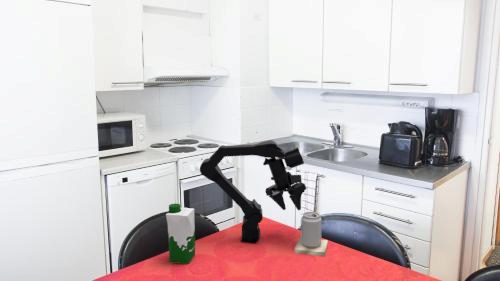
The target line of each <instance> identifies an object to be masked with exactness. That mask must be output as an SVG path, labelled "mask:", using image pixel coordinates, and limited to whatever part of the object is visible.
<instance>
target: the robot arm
mask: <svg viewBox="0 0 500 281" xmlns="http://www.w3.org/2000/svg"><path fill="white" fill-rule="evenodd" d="M245 156H256V157H257V156H258V157H261V158H264V161H263V163H262V165H263V166H266V165H268V167H269V170H270V172H271V175H272V176H271V177H270V179H271V181H273V182H274V184H272V185H270V186H268V187H266V188H265V193H266V194H265V195H266V197H267V196H268V198H270V199H272V201H274V203H276V204H277V206H279V207H280V208H281V209H282V210H283V211H286V209H287V208H286V204H285V199H284V193H285V192H287V193H288V195H289V196H288V197H289V199H290V200H291V201H292V203H293V205H294V207H295V208H296V209H297V211H301V210H302V195H303V193H304V192H305V190H307V187H306V183H303V182H302V174H292V173H291V172H290V171H287V168H289V169H293V168H296V167H298V166H302V165H305V163H304V162H305V161H304V159H303V156H302V154H301V152H300V149H299V147H298V146H297V147H294V148H292V149H290V150H287V151H285V150H284V149H282V148H281V147H279V146H278V143H277V142H276V141H274V140H266V141H262V142H258V143H253V144H238V145H237V144H236V145H220V146H219V147H218V148H217V149H216V151H214V153H213V154H211V156H210V157H209V158H205V159H203V161H202V162H201V165H200V167H199V172H200V174H201V175H202V176H204V177H205V178H206V179H208V180H209V181H211V182H213V183H215V184H216V185H218V187H219V188H220V189H221V190H222V191H224V193H225V194H227V196H229V198H231V200H233V202H234V203H235V204H236V205H238V207H239V208H240V209H241V211H242V213H243V214H244V215H243V216H242V224H241V239H240V242H241V243H249V244H257V243H258V242H259V240H260V239H261V228H260V223H261V222H262V221H263V209H262V205H261V204H259V203H258V201H257V200H256V199H255V198H254V199H252V200H250V199H248V198H247V197H246V196H245V195H244V194H243V193H242V192H241V191H240V190H239V188H237V187H236V186H235V185H234V184H233V183H232V182H231V181H230V180H229V178H228V177H226V176H225V175H224V174H223V172H222V170H221V168H220V167H219V166H220V165H219V164H220V163H221V161H222V160H223V159H224V158H225V157H245ZM283 160H284V161H283ZM284 162H285V164H284ZM285 165H286V166H285ZM286 167H287V168H286Z"/></svg>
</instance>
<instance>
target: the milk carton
mask: <svg viewBox="0 0 500 281" xmlns="http://www.w3.org/2000/svg"><path fill="white" fill-rule="evenodd" d="M165 218H166V222H167V234H168V235H167V237H168V238H167V240H168V255H169V256H168V258H169V263H173V264H174V263H175V264H185V265H188V264H190V262H191V261H192V260H193V258H194V257H195V256H196V233H195V232H196V231H195V230H196V228H195V227H196V226H195V208H191V207H190V208H188V207H181V204H180V203H170V204H169V205H168V211H167V213H166V214H165Z"/></svg>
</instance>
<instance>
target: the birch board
mask: <svg viewBox="0 0 500 281" xmlns="http://www.w3.org/2000/svg"><path fill="white" fill-rule="evenodd" d="M328 244H329V240H328V239H321V244H320V245H319V246H318V247H315V248H309V247H306V246H304V245H303V244H302V243H301V237H300V236H299V237H298V240H297V243H296V245H295V247H294V253H295V254H301V255H309V256H316V257H317V256H319V257H325V256H326V253H327V248H328Z"/></svg>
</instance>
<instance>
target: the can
mask: <svg viewBox="0 0 500 281" xmlns="http://www.w3.org/2000/svg"><path fill="white" fill-rule="evenodd" d="M300 219H301V220H300V221H301V222H300V224H301V226H300V227H301V228H300V229H301V231H300V232H301V233H300V236H301V243H302V244H303V245H304V246H306V247H309V248H315V247H318V246H319V245H320V244H321V240H322V224H323V223H322V217H321V214H320V213H319V212H315V211H306V212H304V213H302V216H301V218H300Z"/></svg>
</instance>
